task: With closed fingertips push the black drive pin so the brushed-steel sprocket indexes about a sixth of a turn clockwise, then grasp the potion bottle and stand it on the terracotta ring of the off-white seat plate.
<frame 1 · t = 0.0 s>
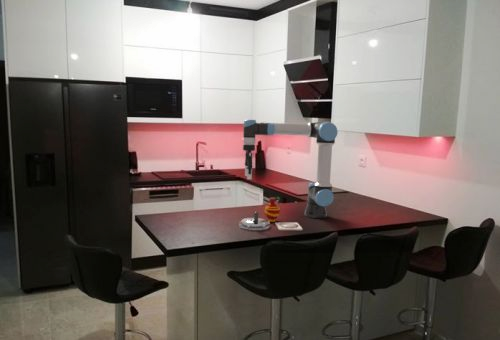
hand: (248, 177, 262), 28 cm above the worktop, fingers open, 13 cm apart
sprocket: (254, 217, 251), point 6 cm above the worktop, hinge at 0.0°
seat: (288, 227, 253), on the worktop
sprocket base: (254, 226, 252), on the worktop
potion bottle: (271, 221, 267), on the worktop
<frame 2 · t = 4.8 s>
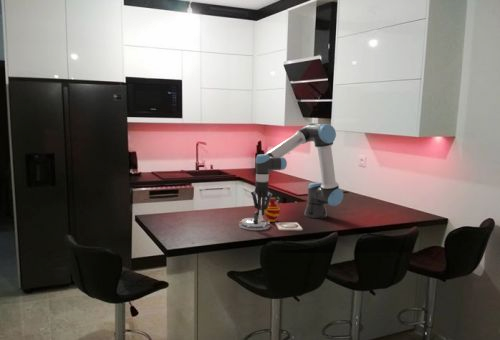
hand: (260, 220, 243), 6 cm above the worktop, fingers closed
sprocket: (254, 217, 251), point 6 cm above the worktop, hinge at 0.5°, touching gripper
everything else where it was.
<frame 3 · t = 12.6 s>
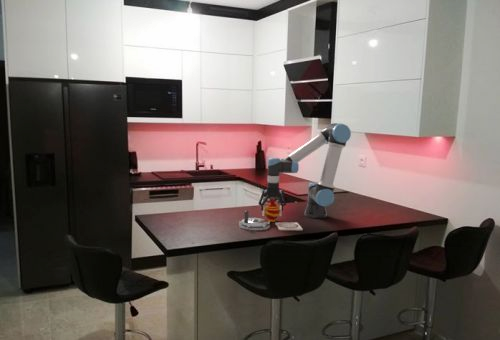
hand: (271, 215, 267), 3 cm above the worktop, fingers closed on potion bottle, 10 cm apart
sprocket: (254, 217, 251), point 6 cm above the worktop, hinge at 58.5°
potion bottle: (271, 221, 267), on the worktop, touching gripper
when the fingers open (5 cm above the worktop, at t = 18.4 s): potion bottle stays where it is, resting on seat.
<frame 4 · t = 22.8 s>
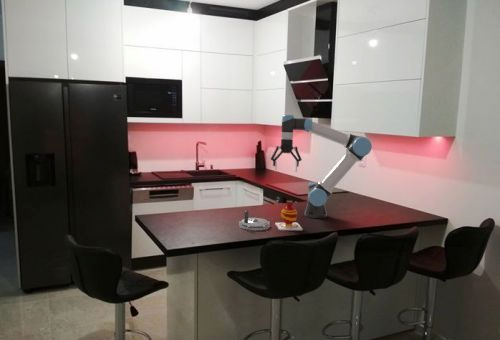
hand: (285, 171, 270), 32 cm above the worktop, fingers open, 13 cm apart
potion bottle: (288, 225, 253), point 1 cm above the worktop, touching seat
everything else where it was.
at the end: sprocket at +58° (first picture: +0°); potion bottle inside the target area on the seat (0.1 cm from its centre), point 0.9 cm above the seat's base; potion bottle tilted 0° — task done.
